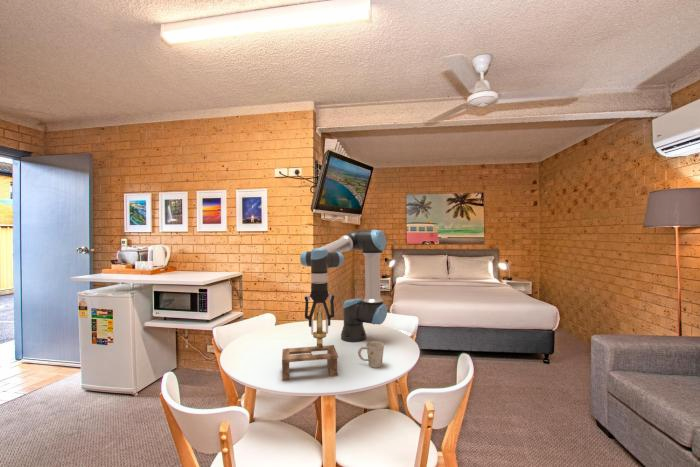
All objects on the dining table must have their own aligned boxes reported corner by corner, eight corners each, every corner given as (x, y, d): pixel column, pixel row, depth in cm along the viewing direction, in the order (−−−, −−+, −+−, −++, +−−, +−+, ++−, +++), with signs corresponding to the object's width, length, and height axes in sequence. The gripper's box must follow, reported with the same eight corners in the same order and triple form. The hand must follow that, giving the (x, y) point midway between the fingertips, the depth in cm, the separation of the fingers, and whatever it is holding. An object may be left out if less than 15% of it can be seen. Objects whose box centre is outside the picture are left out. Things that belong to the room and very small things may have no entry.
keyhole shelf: (333, 363, 155) (333, 345, 156) (338, 376, 142) (338, 355, 142) (282, 368, 151) (282, 348, 151) (282, 381, 137) (282, 359, 137)
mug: (383, 369, 148) (383, 347, 148) (356, 367, 151) (356, 345, 151) (385, 362, 156) (384, 341, 157) (359, 360, 159) (359, 340, 159)
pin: (325, 344, 151) (325, 310, 151) (327, 349, 145) (326, 313, 145) (312, 345, 150) (312, 310, 150) (313, 350, 144) (313, 313, 144)
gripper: (338, 280, 153) (339, 329, 153) (298, 281, 150) (298, 332, 149) (341, 282, 146) (341, 334, 145) (298, 284, 142) (298, 337, 142)
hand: (319, 333), depth 147 cm, fingers closed on pin, 6 cm apart
